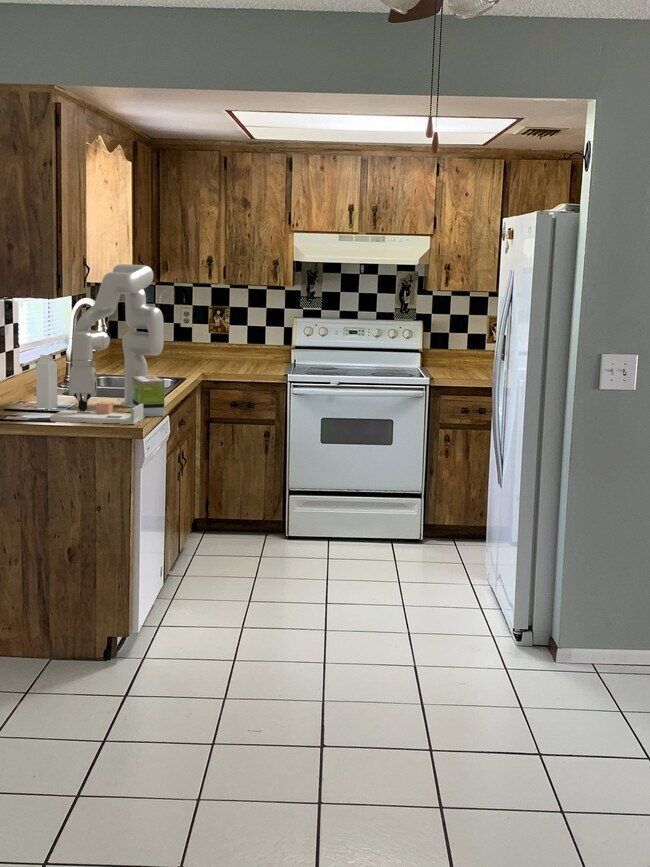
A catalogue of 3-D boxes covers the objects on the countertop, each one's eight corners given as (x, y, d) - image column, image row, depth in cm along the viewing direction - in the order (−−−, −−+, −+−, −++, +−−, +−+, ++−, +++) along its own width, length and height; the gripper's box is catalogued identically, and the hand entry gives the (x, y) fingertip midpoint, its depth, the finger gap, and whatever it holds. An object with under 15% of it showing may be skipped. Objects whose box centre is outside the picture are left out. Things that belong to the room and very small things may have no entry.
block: (100, 411, 374) (100, 401, 373) (113, 412, 373) (113, 402, 373) (96, 413, 369) (96, 403, 368) (108, 414, 369) (108, 404, 368)
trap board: (63, 415, 375) (62, 400, 374) (143, 418, 373) (143, 403, 372) (50, 421, 360) (50, 405, 359) (133, 424, 359) (133, 409, 358)
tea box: (131, 411, 391) (131, 375, 388) (155, 411, 395) (156, 375, 392) (140, 417, 377) (140, 380, 374) (165, 416, 381) (165, 380, 379)
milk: (45, 407, 392) (44, 354, 389) (57, 408, 390) (57, 355, 387) (36, 409, 387) (35, 355, 383) (48, 410, 385) (48, 356, 381)
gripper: (104, 363, 370) (104, 410, 374) (66, 362, 371) (67, 408, 374) (98, 365, 363) (99, 413, 366) (60, 364, 364) (60, 411, 367)
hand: (83, 410), depth 370 cm, fingers closed
